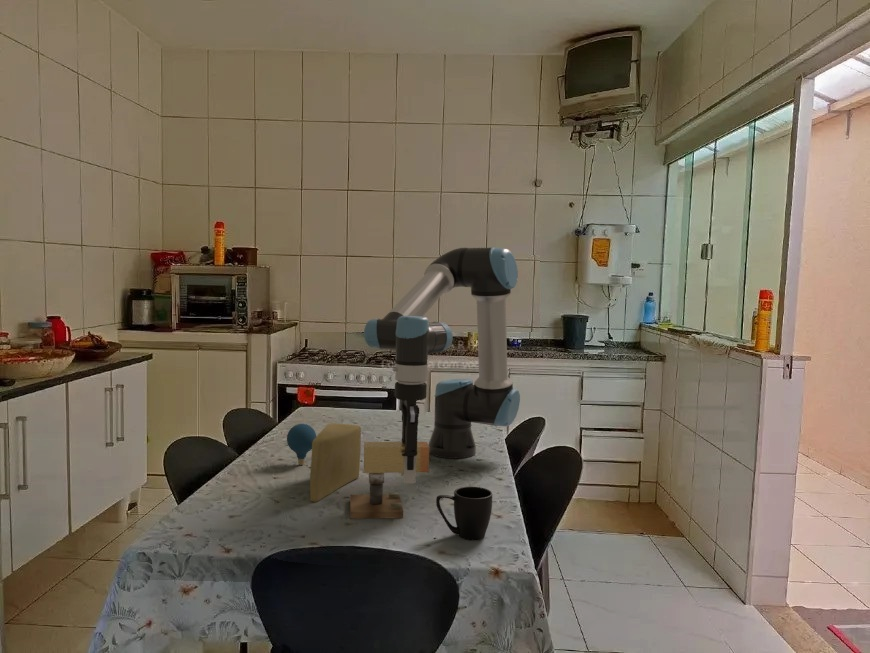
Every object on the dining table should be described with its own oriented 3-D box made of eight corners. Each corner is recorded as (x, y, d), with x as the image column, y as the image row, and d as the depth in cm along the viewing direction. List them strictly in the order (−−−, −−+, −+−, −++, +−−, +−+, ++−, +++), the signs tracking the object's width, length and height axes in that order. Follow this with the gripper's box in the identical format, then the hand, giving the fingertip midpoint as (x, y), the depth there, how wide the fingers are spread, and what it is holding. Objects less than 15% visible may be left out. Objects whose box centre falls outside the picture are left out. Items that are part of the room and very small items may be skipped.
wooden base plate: (399, 500, 162) (399, 476, 162) (403, 517, 150) (403, 492, 150) (350, 500, 161) (350, 476, 160) (350, 518, 149) (350, 492, 148)
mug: (433, 528, 145) (435, 486, 144) (487, 528, 145) (489, 486, 145) (436, 543, 136) (438, 498, 136) (493, 543, 137) (495, 498, 137)
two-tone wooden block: (363, 485, 152) (364, 447, 151) (363, 478, 157) (364, 441, 156) (428, 484, 154) (429, 447, 153) (425, 478, 159) (426, 441, 158)
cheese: (332, 504, 158) (333, 443, 156) (294, 500, 160) (295, 440, 158) (360, 478, 179) (362, 423, 178) (327, 474, 181) (328, 421, 180)
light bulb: (309, 470, 184) (310, 428, 184) (281, 467, 186) (282, 426, 185) (320, 462, 193) (321, 422, 192) (293, 459, 194) (294, 419, 193)
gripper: (392, 375, 163) (390, 468, 164) (397, 388, 145) (395, 491, 146) (422, 376, 164) (419, 467, 165) (431, 388, 146) (428, 491, 147)
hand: (408, 478), depth 156 cm, fingers open, 5 cm apart
